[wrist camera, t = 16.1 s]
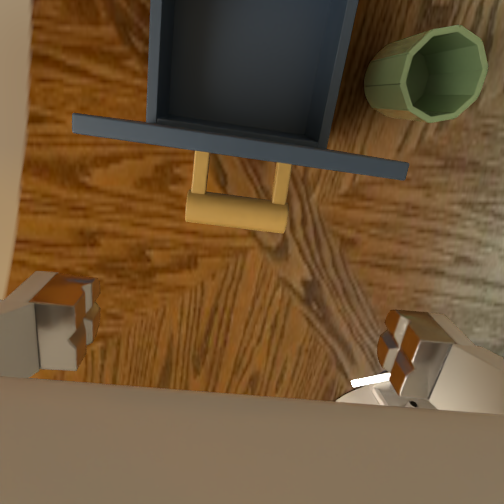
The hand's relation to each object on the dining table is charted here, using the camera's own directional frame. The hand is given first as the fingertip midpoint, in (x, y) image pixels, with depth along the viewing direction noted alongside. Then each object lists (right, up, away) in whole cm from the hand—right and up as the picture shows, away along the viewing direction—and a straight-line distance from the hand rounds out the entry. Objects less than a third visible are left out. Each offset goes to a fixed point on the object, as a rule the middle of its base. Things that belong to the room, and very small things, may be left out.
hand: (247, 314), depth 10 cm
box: (0, +20, +23) cm, 30 cm away
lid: (0, +9, +12) cm, 15 cm away
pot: (+14, +18, +25) cm, 34 cm away
